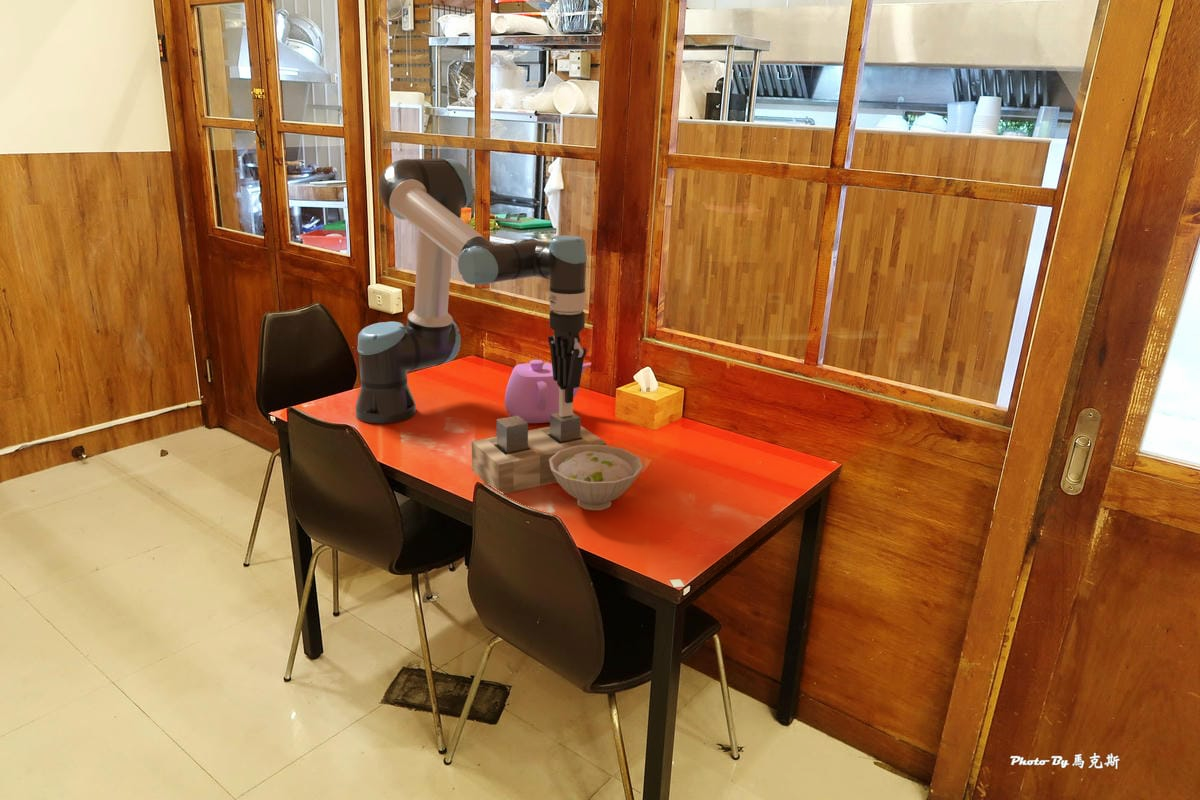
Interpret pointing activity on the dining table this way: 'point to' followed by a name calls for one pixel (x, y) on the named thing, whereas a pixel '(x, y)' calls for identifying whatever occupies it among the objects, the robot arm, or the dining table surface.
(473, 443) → the socket block
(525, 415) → the teapot
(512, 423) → the near peg
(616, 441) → the dining table surface
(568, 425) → the far peg
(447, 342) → the robot arm
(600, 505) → the bowl
